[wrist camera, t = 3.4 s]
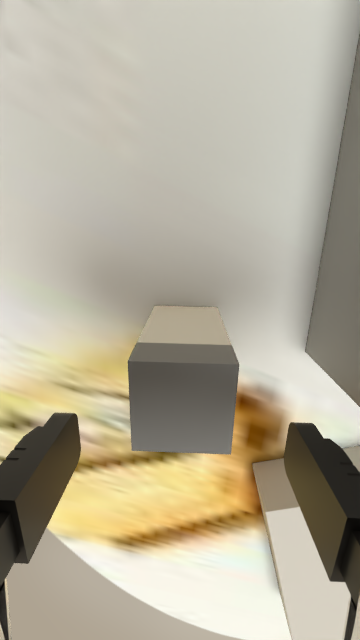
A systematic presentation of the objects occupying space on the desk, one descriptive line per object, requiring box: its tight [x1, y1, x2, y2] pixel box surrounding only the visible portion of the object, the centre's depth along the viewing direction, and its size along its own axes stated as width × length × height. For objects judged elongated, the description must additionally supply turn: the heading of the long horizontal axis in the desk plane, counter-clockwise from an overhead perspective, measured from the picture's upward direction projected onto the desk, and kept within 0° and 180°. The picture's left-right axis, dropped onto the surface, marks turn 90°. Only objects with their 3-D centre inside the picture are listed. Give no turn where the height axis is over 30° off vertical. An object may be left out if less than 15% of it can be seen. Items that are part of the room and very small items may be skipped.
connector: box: [128, 306, 239, 454], centre depth 16 cm, size 4×4×9 cm
